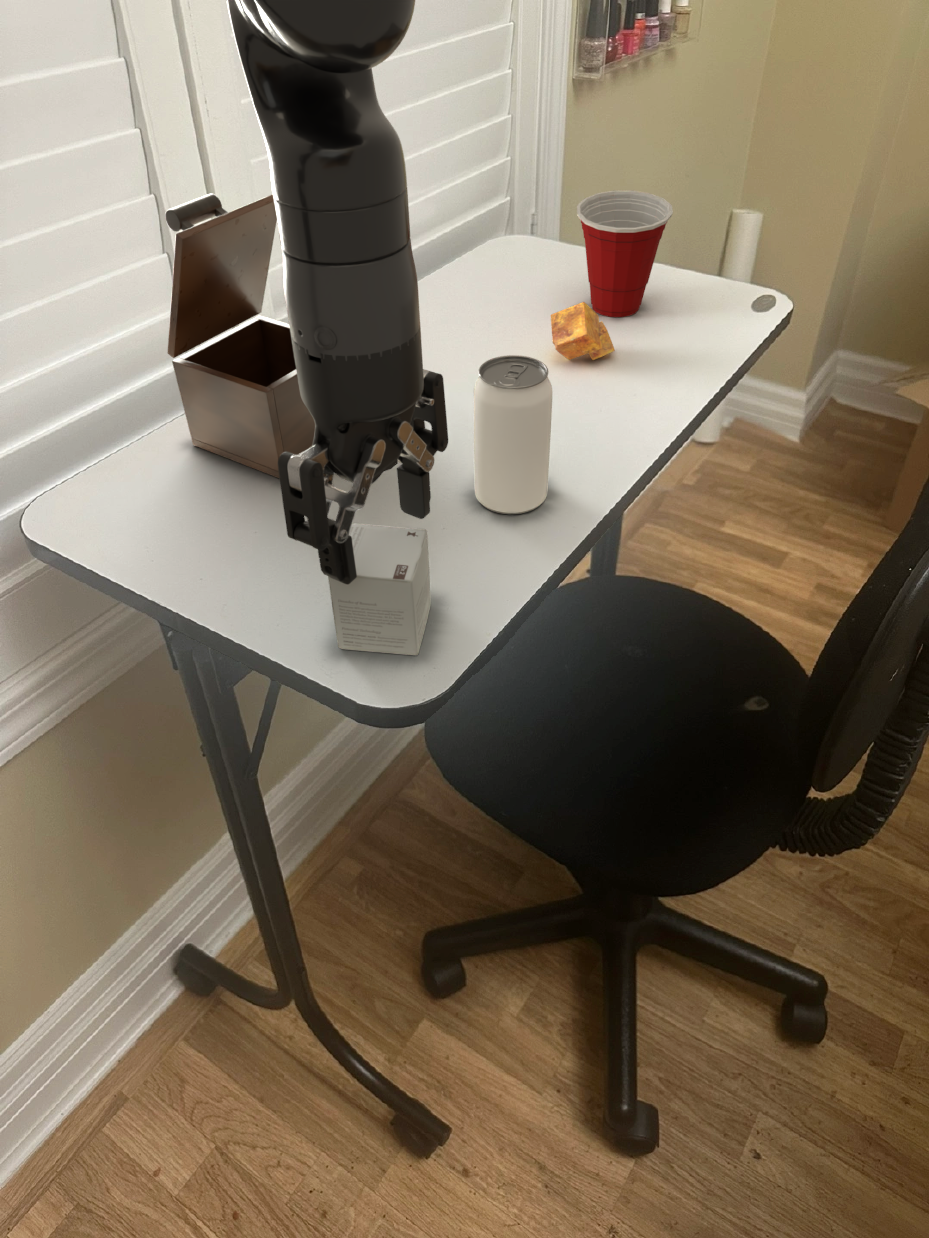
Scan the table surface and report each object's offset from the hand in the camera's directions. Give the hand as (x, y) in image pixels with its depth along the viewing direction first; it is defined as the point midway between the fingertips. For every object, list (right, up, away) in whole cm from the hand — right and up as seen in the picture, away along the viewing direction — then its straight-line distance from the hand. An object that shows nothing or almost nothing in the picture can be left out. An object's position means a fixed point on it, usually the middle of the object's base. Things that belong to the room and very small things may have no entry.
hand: (379, 544), depth 63 cm
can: (+10, +6, +18) cm, 21 cm away
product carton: (0, -6, +5) cm, 8 cm away
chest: (-13, +13, +26) cm, 32 cm away
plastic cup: (+24, +32, +47) cm, 62 cm away
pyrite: (+19, +24, +37) cm, 48 cm away
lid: (-15, +25, +17) cm, 34 cm away
